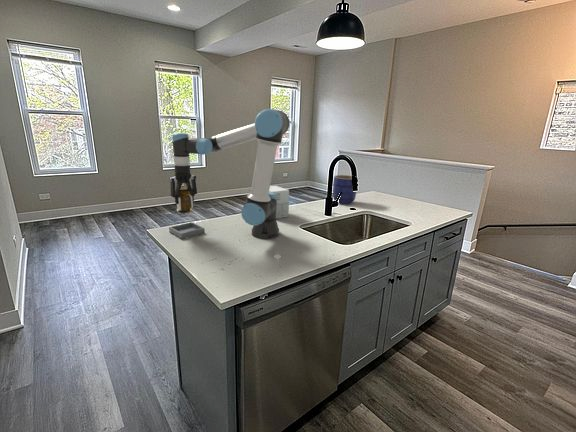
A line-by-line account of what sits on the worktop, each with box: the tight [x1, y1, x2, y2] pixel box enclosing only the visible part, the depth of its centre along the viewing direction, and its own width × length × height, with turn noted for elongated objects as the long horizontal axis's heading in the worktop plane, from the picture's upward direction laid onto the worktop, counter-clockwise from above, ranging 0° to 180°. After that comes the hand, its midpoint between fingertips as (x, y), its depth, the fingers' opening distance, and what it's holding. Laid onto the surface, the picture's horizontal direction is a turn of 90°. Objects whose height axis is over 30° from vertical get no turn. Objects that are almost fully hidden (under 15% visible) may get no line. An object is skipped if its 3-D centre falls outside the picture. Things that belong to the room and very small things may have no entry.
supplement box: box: [269, 185, 290, 220], centre depth 196 cm, size 17×13×18 cm
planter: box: [332, 174, 359, 205], centre depth 233 cm, size 18×18×21 cm
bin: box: [168, 221, 206, 240], centre depth 161 cm, size 13×13×3 cm
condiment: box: [176, 187, 194, 214], centre depth 156 cm, size 7×8×12 cm
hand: (185, 208), depth 157 cm, fingers closed on condiment, 6 cm apart
